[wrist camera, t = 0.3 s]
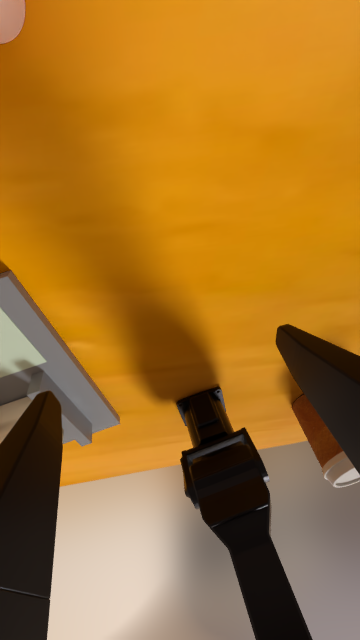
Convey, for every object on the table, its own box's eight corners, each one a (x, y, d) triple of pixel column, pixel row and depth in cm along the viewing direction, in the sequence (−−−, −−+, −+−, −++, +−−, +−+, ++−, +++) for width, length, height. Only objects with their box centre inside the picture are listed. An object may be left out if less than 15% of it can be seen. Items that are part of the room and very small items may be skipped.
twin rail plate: (119, 416, 35) (121, 441, 32) (18, 452, 34) (11, 481, 32) (10, 270, 20) (-3, 293, 18) (-170, 328, 20) (-213, 361, 17)
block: (65, 415, 30) (61, 458, 27) (24, 430, 30) (13, 475, 26) (41, 391, 27) (32, 436, 23) (-5, 407, 27) (-23, 455, 23)
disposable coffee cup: (309, 379, 41) (370, 454, 32) (344, 386, 45) (407, 454, 36) (272, 415, 45) (316, 491, 36) (308, 418, 50) (355, 487, 40)
